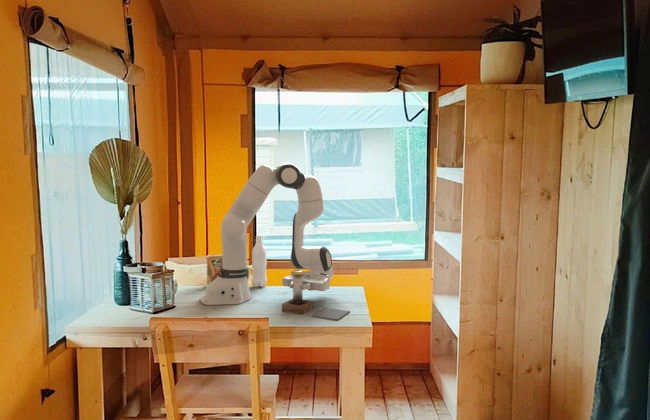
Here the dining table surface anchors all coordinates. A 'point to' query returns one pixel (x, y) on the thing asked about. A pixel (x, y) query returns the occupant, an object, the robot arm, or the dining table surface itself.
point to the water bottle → (259, 263)
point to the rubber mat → (330, 313)
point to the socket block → (298, 306)
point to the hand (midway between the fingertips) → (296, 287)
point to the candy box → (213, 267)
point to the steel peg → (297, 286)
